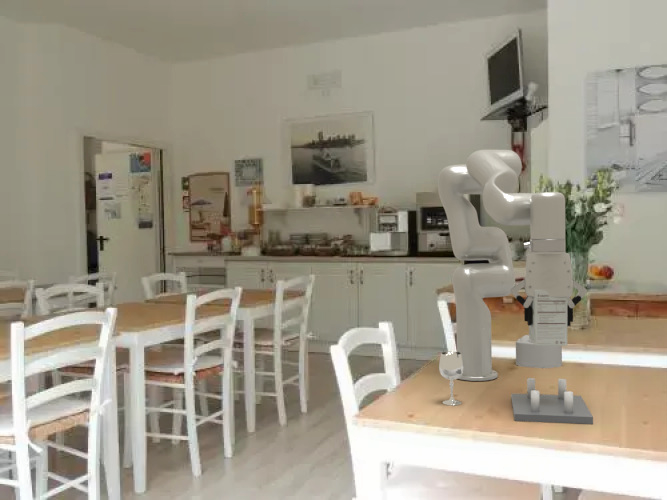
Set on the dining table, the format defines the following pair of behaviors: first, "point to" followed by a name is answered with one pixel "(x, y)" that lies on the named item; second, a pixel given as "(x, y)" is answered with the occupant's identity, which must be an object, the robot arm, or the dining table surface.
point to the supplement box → (548, 320)
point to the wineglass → (451, 371)
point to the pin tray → (550, 406)
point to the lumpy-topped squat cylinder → (537, 354)
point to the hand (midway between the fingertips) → (548, 324)
